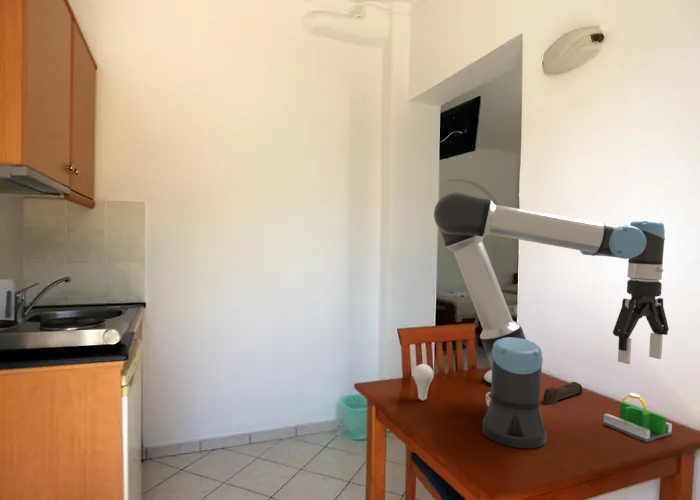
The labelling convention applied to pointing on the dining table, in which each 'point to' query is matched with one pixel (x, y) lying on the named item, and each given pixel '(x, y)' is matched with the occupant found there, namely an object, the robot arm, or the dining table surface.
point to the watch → (636, 398)
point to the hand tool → (561, 392)
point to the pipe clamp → (643, 418)
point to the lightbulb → (423, 379)
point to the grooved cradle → (634, 428)
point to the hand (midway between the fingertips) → (639, 360)
